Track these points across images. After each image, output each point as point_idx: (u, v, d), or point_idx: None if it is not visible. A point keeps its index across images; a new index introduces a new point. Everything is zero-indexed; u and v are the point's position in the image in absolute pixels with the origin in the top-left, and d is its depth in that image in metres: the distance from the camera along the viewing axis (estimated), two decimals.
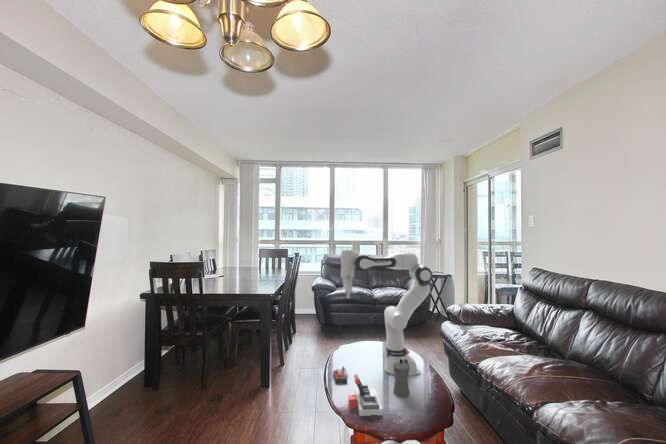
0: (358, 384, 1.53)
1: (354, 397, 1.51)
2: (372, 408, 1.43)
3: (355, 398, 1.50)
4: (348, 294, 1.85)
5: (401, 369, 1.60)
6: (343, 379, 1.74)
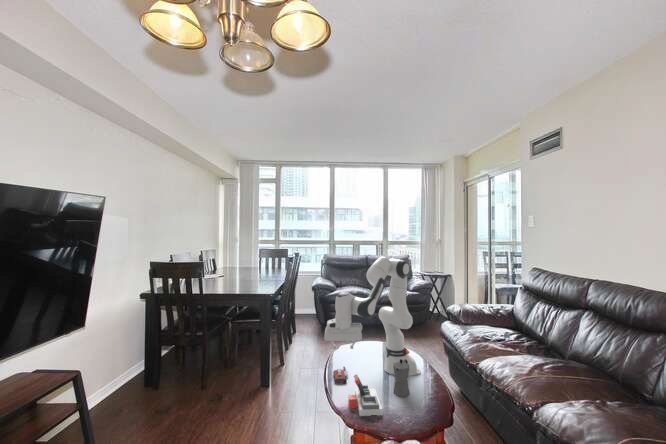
0: (358, 384, 1.53)
1: (354, 397, 1.51)
2: (372, 408, 1.43)
3: (355, 398, 1.50)
4: None
5: (401, 369, 1.60)
6: (342, 379, 1.74)
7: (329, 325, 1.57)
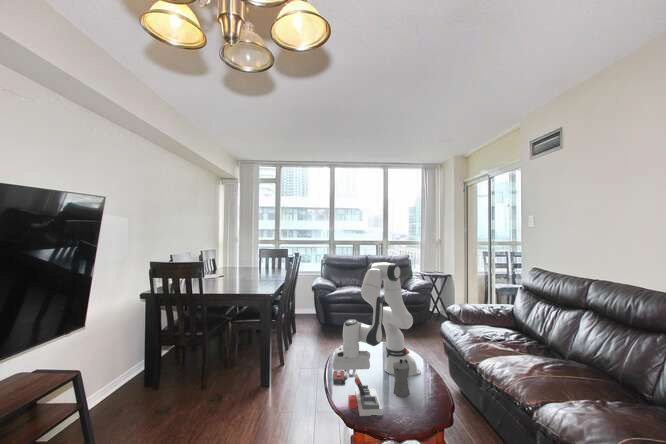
0: (358, 384, 1.53)
1: (354, 397, 1.51)
2: (372, 408, 1.43)
3: (355, 398, 1.50)
4: None
5: (401, 369, 1.60)
6: (341, 380, 1.74)
7: (337, 354, 1.57)
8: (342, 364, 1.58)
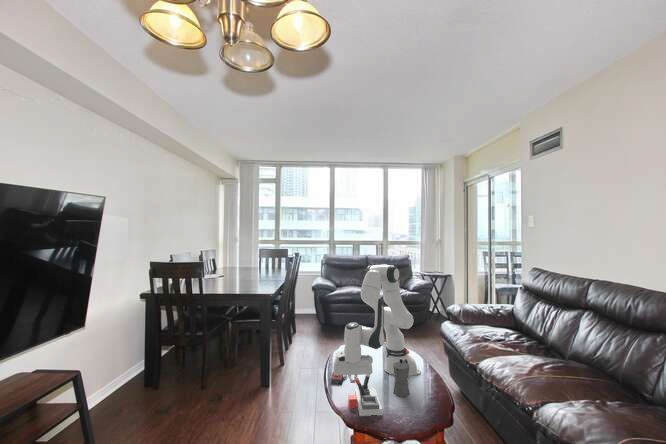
0: (358, 384, 1.53)
1: (354, 397, 1.51)
2: (372, 408, 1.43)
3: (355, 398, 1.50)
4: None
5: (401, 369, 1.60)
6: (338, 380, 1.73)
7: (338, 359, 1.51)
8: (343, 369, 1.52)
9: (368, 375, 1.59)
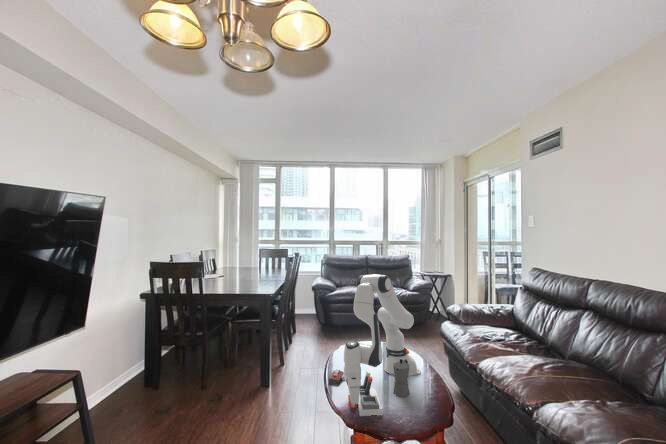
0: (370, 382, 1.53)
1: None
2: (372, 408, 1.43)
3: None
4: None
5: (401, 369, 1.60)
6: (335, 380, 1.73)
7: (360, 383, 1.44)
8: None
9: (368, 375, 1.59)
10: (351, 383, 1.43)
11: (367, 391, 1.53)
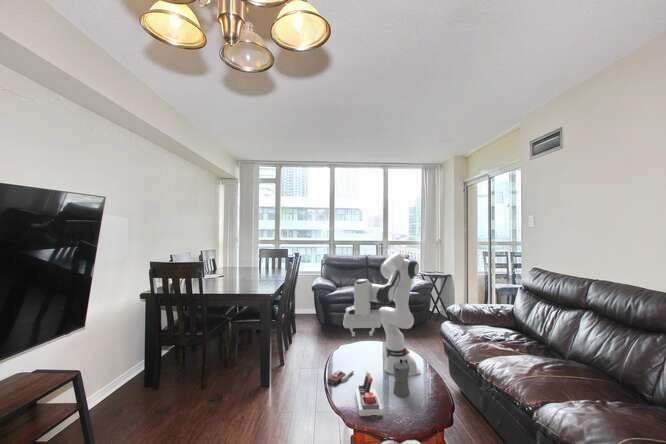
0: (370, 382, 1.53)
1: (368, 395, 1.47)
2: (372, 408, 1.43)
3: (367, 396, 1.46)
4: None
5: (401, 369, 1.60)
6: (333, 381, 1.72)
7: (348, 312, 1.56)
8: (353, 322, 1.57)
9: (368, 375, 1.59)
10: (346, 309, 1.60)
11: (367, 391, 1.53)
